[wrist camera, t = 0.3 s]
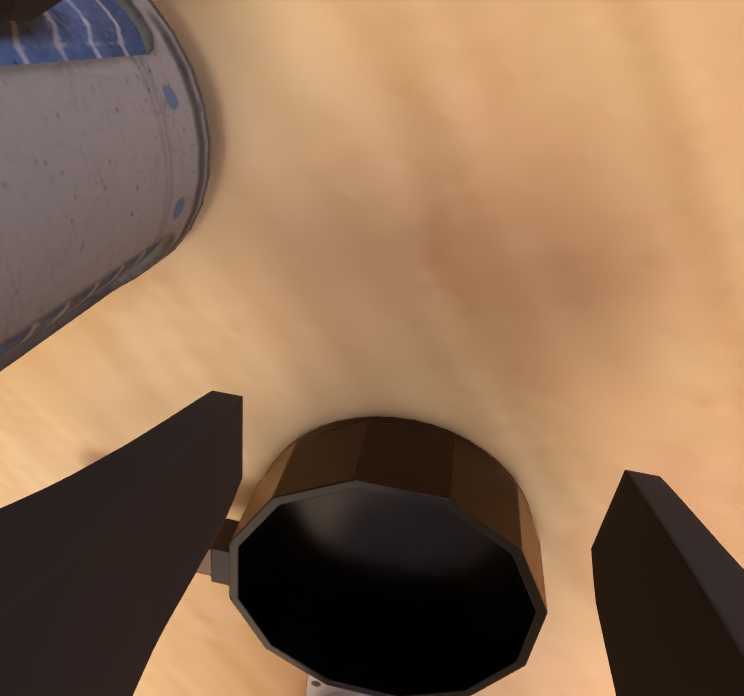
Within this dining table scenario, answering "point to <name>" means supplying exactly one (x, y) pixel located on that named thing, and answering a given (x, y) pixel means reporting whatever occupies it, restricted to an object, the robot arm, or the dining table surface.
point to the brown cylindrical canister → (90, 157)
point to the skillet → (387, 561)
